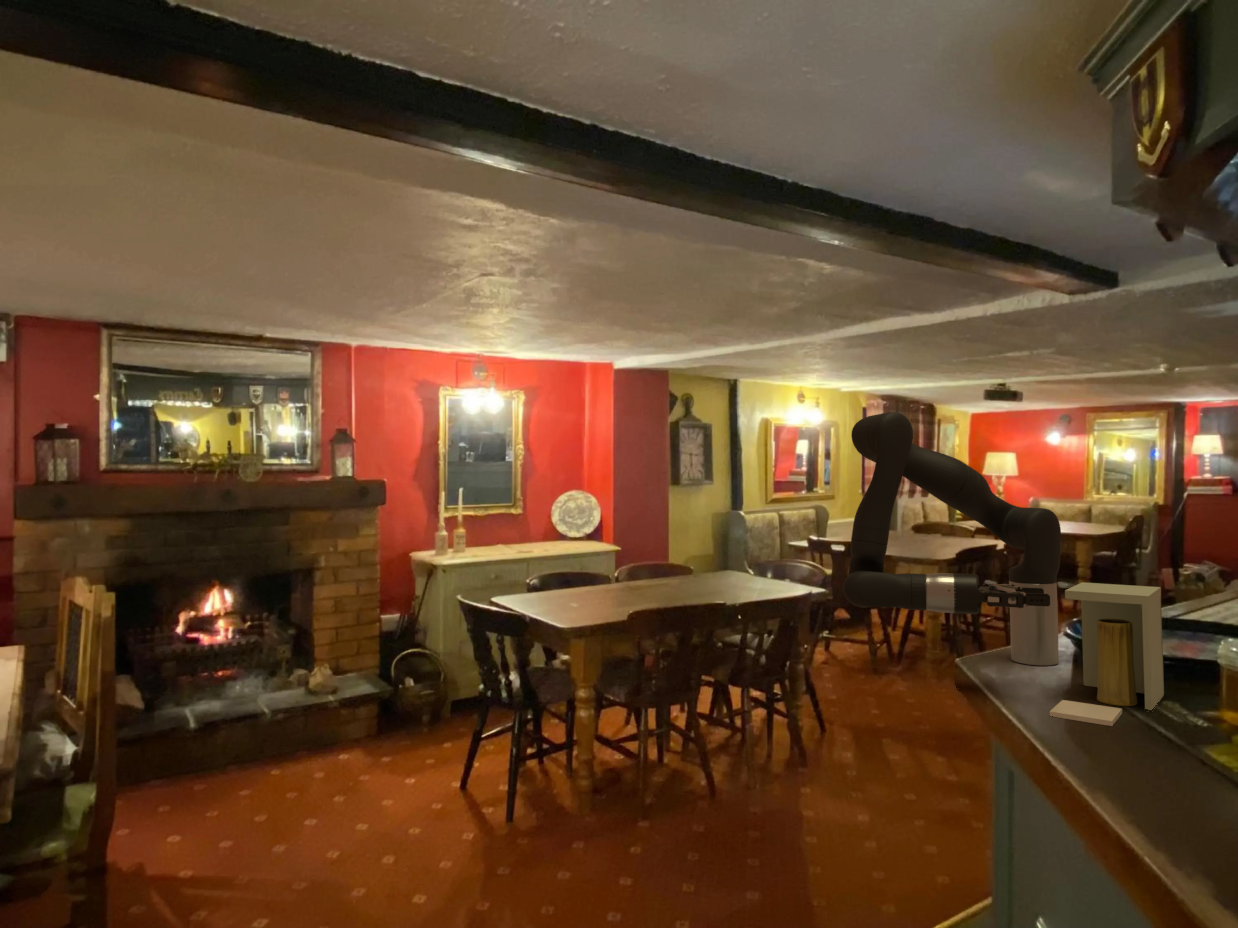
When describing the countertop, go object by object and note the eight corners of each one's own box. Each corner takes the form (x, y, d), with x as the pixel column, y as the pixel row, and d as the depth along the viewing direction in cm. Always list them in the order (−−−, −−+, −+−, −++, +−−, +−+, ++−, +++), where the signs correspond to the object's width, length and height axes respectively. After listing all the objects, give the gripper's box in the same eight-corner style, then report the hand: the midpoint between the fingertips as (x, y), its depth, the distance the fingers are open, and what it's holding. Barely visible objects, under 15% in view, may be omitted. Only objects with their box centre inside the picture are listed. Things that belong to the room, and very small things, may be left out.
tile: (1062, 704, 142) (1062, 699, 142) (1122, 713, 136) (1122, 708, 136) (1049, 716, 135) (1049, 711, 135) (1111, 726, 129) (1111, 720, 129)
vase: (1143, 702, 142) (1140, 621, 143) (1128, 708, 139) (1126, 625, 139) (1105, 695, 147) (1103, 616, 147) (1090, 701, 143) (1088, 620, 144)
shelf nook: (1085, 683, 155) (1082, 582, 156) (1164, 694, 147) (1160, 587, 147) (1067, 699, 145) (1064, 590, 145) (1152, 711, 136) (1148, 596, 137)
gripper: (952, 577, 148) (1051, 580, 142) (950, 569, 162) (1041, 572, 156) (953, 618, 148) (1052, 623, 142) (951, 607, 161) (1042, 611, 156)
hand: (1046, 597), depth 149 cm, fingers open, 8 cm apart
